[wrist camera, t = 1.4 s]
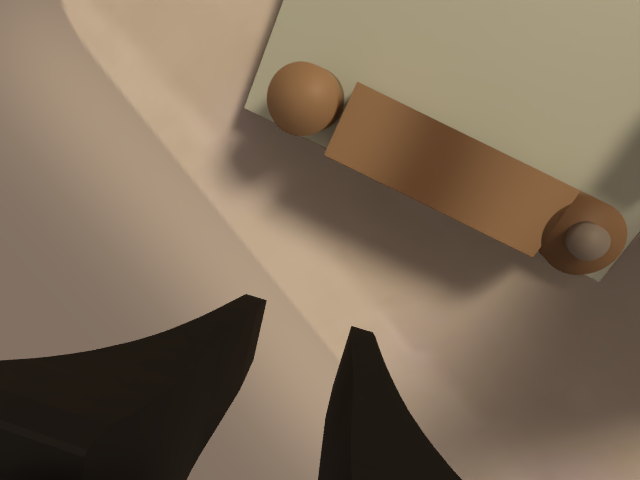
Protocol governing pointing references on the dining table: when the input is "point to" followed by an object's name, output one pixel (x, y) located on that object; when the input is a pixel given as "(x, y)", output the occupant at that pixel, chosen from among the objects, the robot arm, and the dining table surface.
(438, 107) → the seat board
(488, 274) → the dining table surface
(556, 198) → the folding leg
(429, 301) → the dining table surface
